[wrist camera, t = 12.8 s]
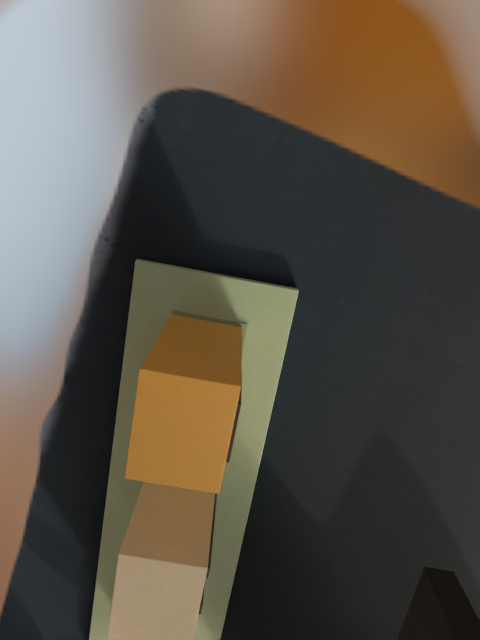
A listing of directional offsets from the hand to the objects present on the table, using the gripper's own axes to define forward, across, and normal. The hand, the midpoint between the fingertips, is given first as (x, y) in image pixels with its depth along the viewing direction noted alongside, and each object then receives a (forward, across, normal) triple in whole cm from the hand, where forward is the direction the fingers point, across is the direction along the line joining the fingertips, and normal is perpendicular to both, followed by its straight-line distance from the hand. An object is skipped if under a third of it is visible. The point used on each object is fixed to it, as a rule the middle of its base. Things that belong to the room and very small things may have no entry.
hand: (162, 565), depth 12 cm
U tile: (+15, 0, -9) cm, 18 cm away
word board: (+16, 0, -9) cm, 18 cm away
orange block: (+15, -1, 0) cm, 15 cm away
